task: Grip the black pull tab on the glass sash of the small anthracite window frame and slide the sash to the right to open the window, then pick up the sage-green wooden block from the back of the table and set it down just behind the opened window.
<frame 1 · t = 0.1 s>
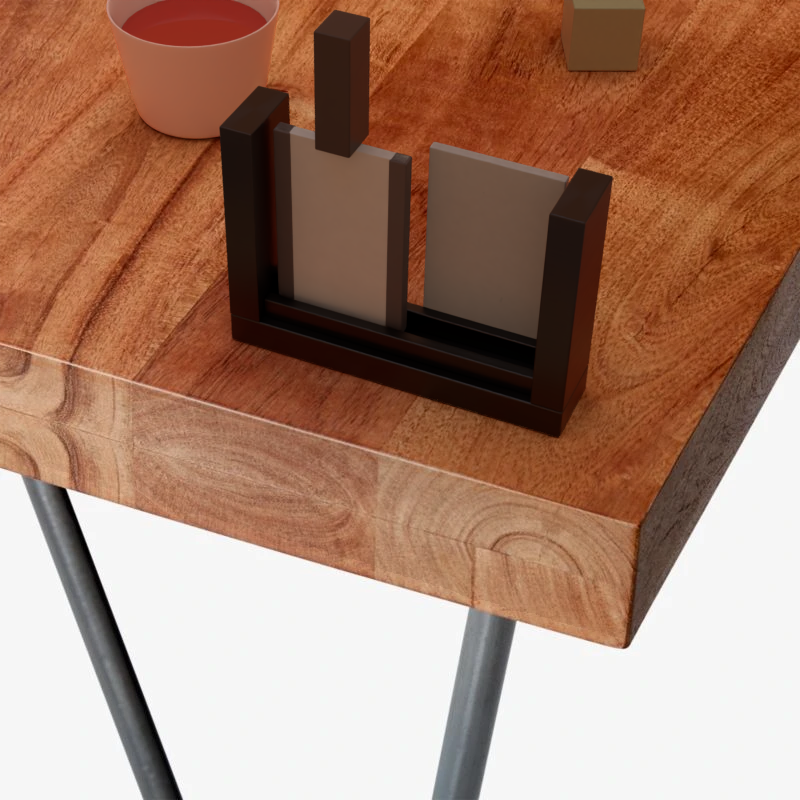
candle: (200, 110, 91), on the table
block: (598, 53, 96), on the table
sash: (342, 179, 70), point 9 cm above the table, slide at 0.0 cm
window frame: (406, 363, 75), on the table
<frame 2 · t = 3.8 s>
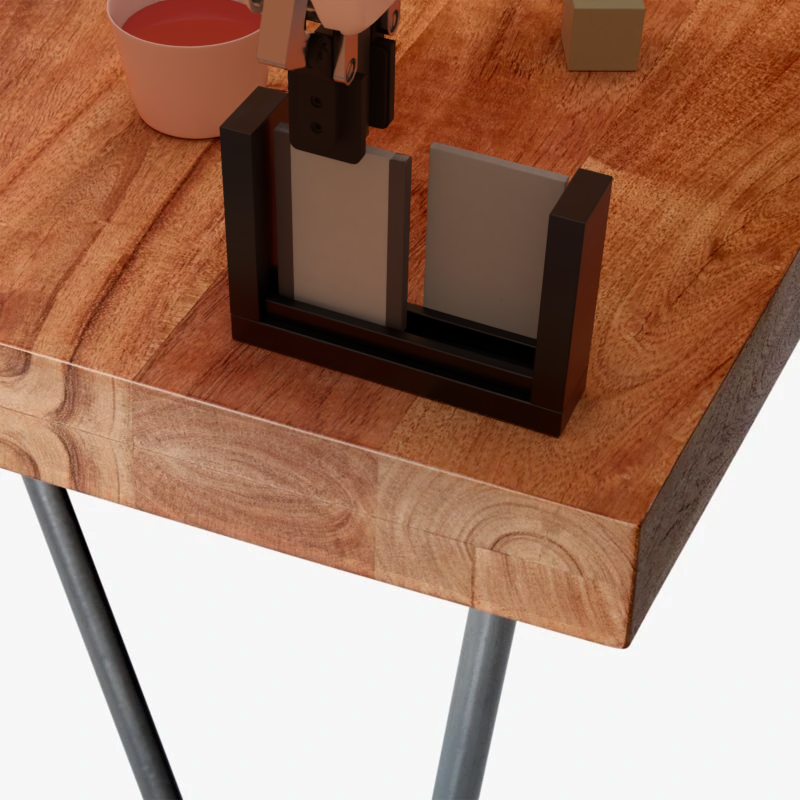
hand: (342, 133, 69), 11 cm above the table, tool pointing down, fingers closed on sash, 2 cm apart
sash: (342, 179, 70), point 9 cm above the table, slide at 0.0 cm, touching gripper
everything else where it was.
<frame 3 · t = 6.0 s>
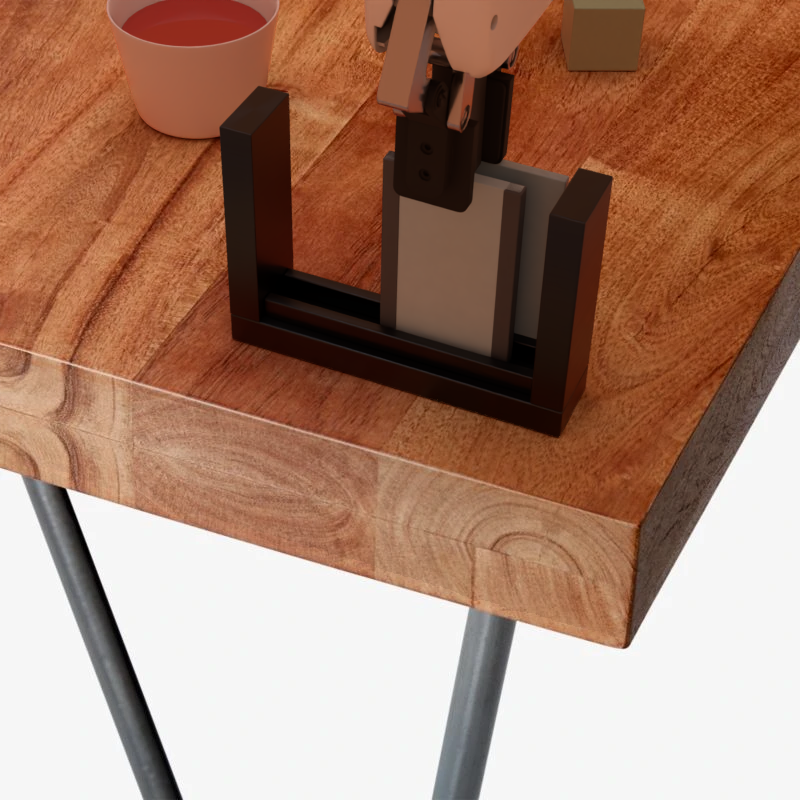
hand: (450, 172, 67), 11 cm above the table, tool pointing down, fingers open, 3 cm apart
sash: (452, 208, 69), point 9 cm above the table, slide at 5.0 cm
everything else where it was.
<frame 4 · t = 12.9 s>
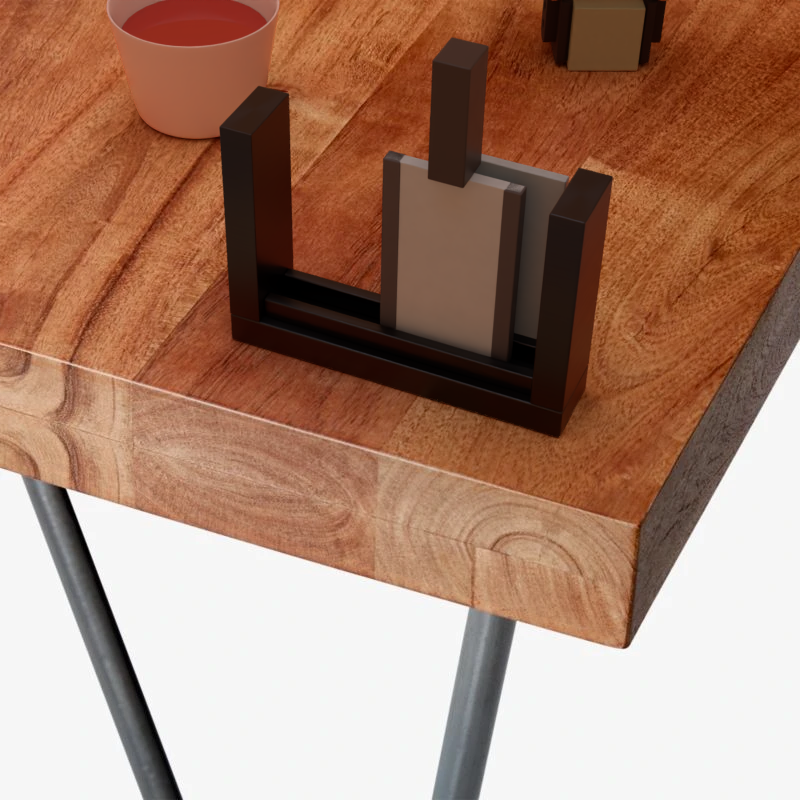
hand: (598, 48, 96), 0 cm above the table, tool pointing down, fingers closed on block, 4 cm apart
block: (598, 53, 96), on the table, touching gripper
everything else where it was.
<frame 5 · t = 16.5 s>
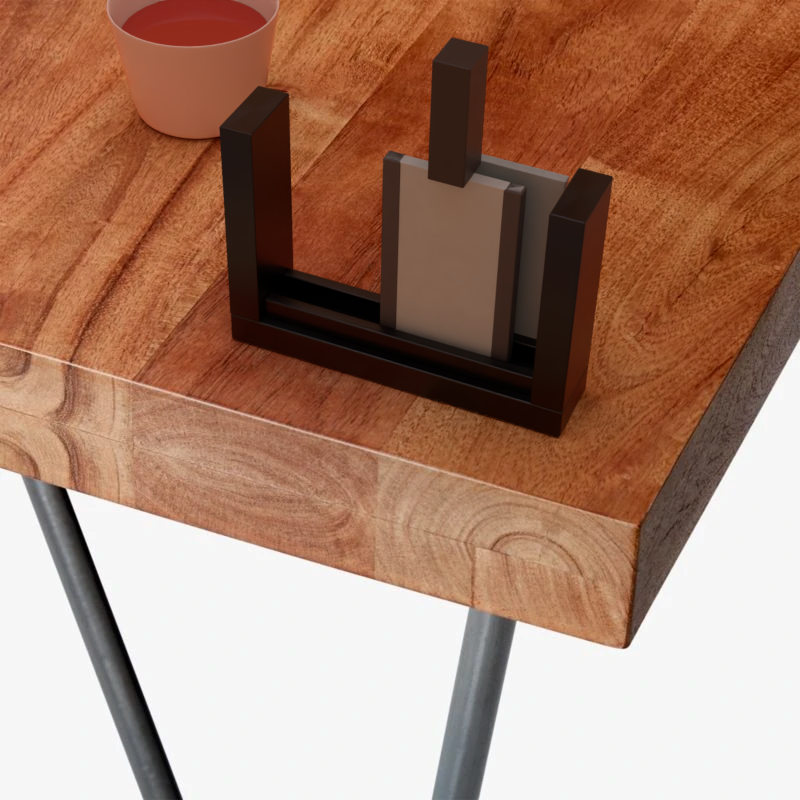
when the fingers open (0 cm above the table, at t = 20.2 s): block stays where it is, on the table.
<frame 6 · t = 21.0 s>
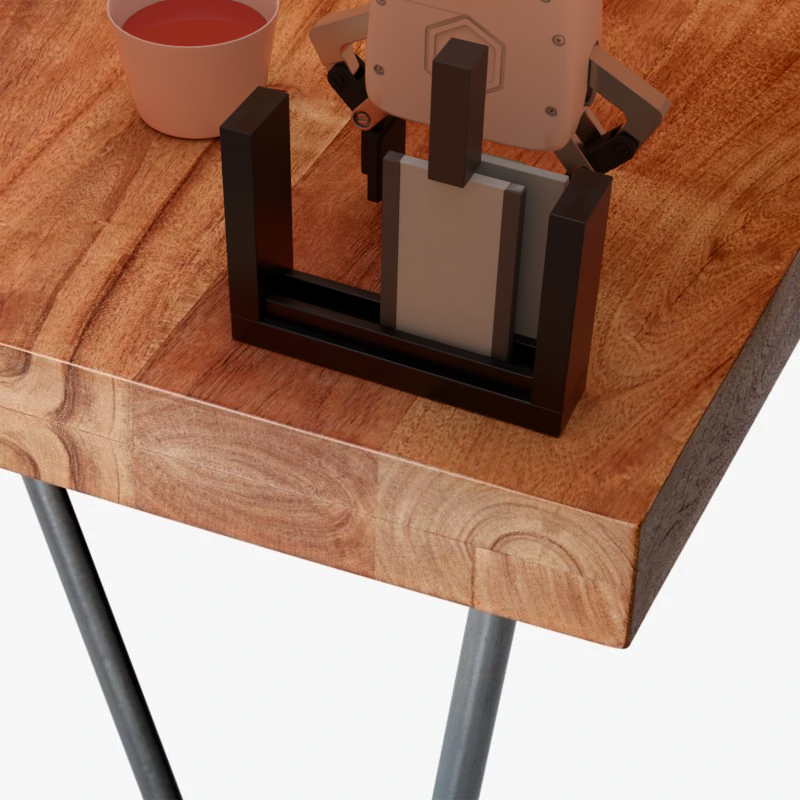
hand: (476, 211, 81), 2 cm above the table, tool pointing down, fingers open, 9 cm apart
block: (469, 240, 82), on the table
everything else where it was.
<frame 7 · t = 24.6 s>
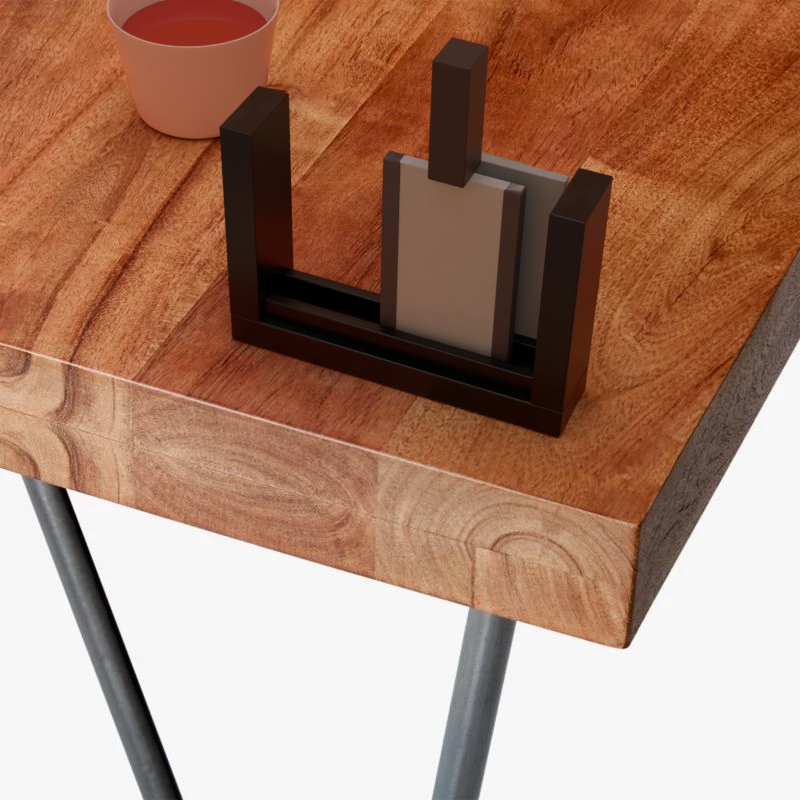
nothing on the table moved.
at the end: sash slide at 5.0 cm; block inside the target area on the table beside the window frame (0.1 cm from its centre), on the table; block tilted 0° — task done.
